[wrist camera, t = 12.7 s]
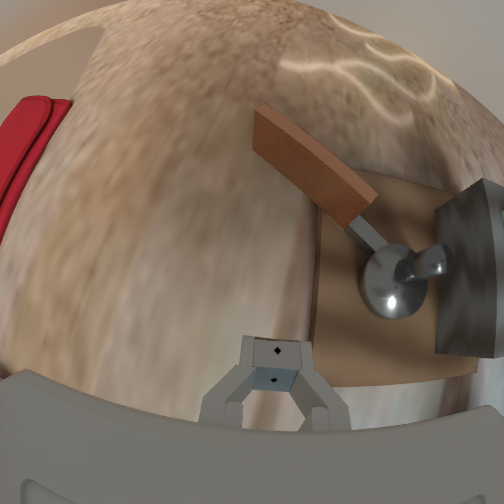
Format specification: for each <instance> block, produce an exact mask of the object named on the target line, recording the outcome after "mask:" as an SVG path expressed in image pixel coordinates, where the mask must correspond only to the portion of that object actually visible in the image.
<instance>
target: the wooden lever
mask: <svg viewBox="0 0 504 504" xmlns="http://www.w3.org/2000/svg"><path fill="white" fill-rule="evenodd" d="M252 150H253V151H254V152H256V153H257V154H258V155H259V156H261V157H262V158H263V159H264V160H266V161H267V162H268V163H269V164H271V165H272V166H273V167H274V168H275V169H277V170H278V171H279V172H280V173H281V174H283V175H284V176H285V177H286V178H287V179H289V180H290V181H291V182H292V183H293V184H294V185H296V186H297V187H298V188H299V189H300V190H301V191H303V192H304V193H305V194H306V195H307V196H308V197H309V198H311V199H312V200H313V201H314V202H315V203H316V204H317V205H318V206H319V207H321V208H322V209H323V210H324V211H325V212H326V213H327V214H328V215H329V216H330V217H332V218H333V219H334V220H335V221H336V222H337V223H338V224H339V225H340V226H341V227H342V228H343V229H344V230H343V231H344V232H345V233H346V234H347V235H348V236H349V237H350V238H351V239H352V240H353V241H354V242H355V243H356V244H357V245H358V246H360V247H361V248H362V249H363V250H364V251H365V252H366V253H367V254H368V255H369V256H368V257H367V258H366V260H365V261H364V263H363V265H362V267H361V270H360V274H359V291H360V295H361V298H362V300H363V302H364V304H365V306H366V307H367V308H368V310H369V311H370V312H371V313H373V314H374V315H376V316H377V317H379V318H382V319H388V320H391V319H404V318H407V317H410V316H412V315H413V314H415V313H416V312H417V311H418V310H419V309H420V307H421V306H422V304H423V302H424V300H425V298H426V295H427V290H428V278H432V277H435V276H439V275H442V274H446V273H448V272H449V271H450V270H451V269H452V266H453V255H452V252H451V250H450V248H449V247H448V246H447V245H446V244H444V243H437V244H435V245H433V246H430V247H428V248H426V249H424V250H422V251H419V252H417V253H416V252H415V251H414V250H412V249H411V248H409V247H408V246H405V245H402V244H396V243H395V244H389V243H388V242H387V241H386V240H385V239H384V238H383V237H382V236H381V235H380V234H379V233H378V232H377V231H376V230H375V229H374V228H373V227H372V226H371V225H370V224H369V223H367V222H366V221H365V220H364V219H363V218H362V217H361V216H360V215H359V214H361V213H362V212H363V211H364V210H365V209H366V208H367V207H368V206H369V205H370V204H371V203H372V202H373V200H374V199H375V198H376V197H377V195H378V194H377V193H376V192H375V191H374V190H373V189H372V188H371V187H370V186H369V185H368V184H367V183H366V182H365V181H363V180H362V179H361V178H360V177H359V176H358V175H357V174H356V173H354V172H353V171H352V170H351V169H350V168H349V167H348V166H346V165H345V164H344V163H343V162H342V161H341V160H339V159H338V158H337V157H336V156H335V155H333V154H332V153H331V152H330V151H329V150H327V149H326V148H325V147H324V146H322V145H321V144H320V143H319V142H317V141H316V140H315V139H313V138H312V137H311V136H310V135H308V134H307V133H306V132H304V131H303V130H302V129H300V128H299V127H298V126H296V125H295V124H294V123H292V122H291V121H290V120H288V119H287V118H285V117H284V116H283V115H281V114H280V113H278V112H277V111H276V110H274V109H273V108H271V107H270V106H268V105H267V104H265V103H264V104H263V105H261V106H260V107H258V108H257V109H255V117H254V132H253V148H252Z"/></svg>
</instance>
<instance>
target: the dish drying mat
mask: <svg viewBox="0 0 504 504" xmlns="http://www.w3.org/2000/svg"><path fill="white" fill-rule="evenodd" d="M71 106H72V102H71V101H69V100H64V99H50V98H49V97H46V96H28V97H25V98H22V99H21V101H20V102H19V103H18V104H17V105H16V107H15V108H14V109H13V110H12V111H11V113H10V114H9V115H8V116H7V118H6V119H5V121H4V122H3V123H2V125H1V127H0V244H1V241H2V238H3V236H4V233H5V231H6V228H7V225H8V223H9V221H10V218H11V216H12V213H13V211H14V209H15V207H16V204H17V202H18V200H19V198H20V196H21V193H22V191H23V189H24V187H25V185H26V183H27V181H28V179H29V177H30V175H31V173H32V171H33V169H34V167H35V165H36V163H37V162H38V160H39V158H40V156H41V155H42V153H43V151H44V150H45V148H46V146H47V144H48V143H49V141H50V139H51V137H52V136H53V134H54V133H55V131H56V129H57V128H58V126H59V125H60V123H61V122H62V120H63V118H64V117H65V115H66V114H67V112H68V111H69V109H70V108H71Z"/></svg>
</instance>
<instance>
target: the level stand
mask: <svg viewBox="0 0 504 504" xmlns="http://www.w3.org/2000/svg"><path fill="white" fill-rule="evenodd" d="M350 169H351V168H350ZM351 170H352V171H353V172H354V173H356V174H357V175H358V176H359V177H360V178H361V179H362V180H363V181H365V182H366V183H367V184H368V185H369V186H370V187H371V188H372V189H373V190H374V191H375V192H376V193H377V194H378V195H377V197H376V198H375V199H374V200H373V202H372V203H371V204H370V205H369V206H368V207H367V208H366V209H365V210H364V211H363V212H362V213H361V214H359V215H360V216H361V217H362V218H363V219H364V220H365V221H366V222H367V223H369V224H370V225H371V226H372V227H373V228H374V229H375V230H376V231H377V232H378V233H379V234H380V235H381V236H382V237H383V238H384V239H385V240H386V241H387V242H388V243H389V244H395V243H396V244H402V245H405V246H408V247H409V248H411V249H412V250H414V251H415V252H416V253H417V252H419V251H422V250H424V249H426V248H428V247H430V246H433V245H435V244H437V243H444V244H446V245H447V246H448V247H449V248H450V250H451V252H452V255H453V266H452V269H451V270H450V271H449V272H448V273H446V274H442V275H439V276H435V277H432V278H428V290H427V295H426V298H425V300H424V302H423V304H422V306H421V307H420V309H419V310H418V311H417V312H416V313H415V314H413V315H412V316H410V317H407V318H404V319H391V320H388V319H382V318H379V317H377V316H376V315H374V314H373V313H371V312H370V311H369V310H368V308H367V307H366V306H365V304H364V302H363V300H362V298H361V295H360V291H359V274H360V270H361V267H362V265H363V263H364V261H365V260H366V258H367V257H368V256H369V255H368V254H367V253H366V252H365V251H364V250H363V249H362V248H361V247H360V246H358V245H357V244H356V243H355V242H354V241H353V240H352V239H351V238H350V237H349V236H348V235H347V234H346V233H345V232H344V231H343V230H344V229H343V228H342V227H341V226H340V225H339V224H338V223H337V222H336V221H335V220H334V219H333V218H332V217H330V216H329V215H328V214H327V213H326V212H325V211H324V210H323V209H322V208H321V207H319V206H318V205H317V234H316V255H315V271H314V286H313V299H312V311H311V322H310V332H309V341H310V342H311V344H312V352H313V361H314V370H315V371H318V372H319V373H320V374H321V376H322V377H323V378H324V379H325V380H326V381H327V382H328V384H329V385H330V386H331V387H360V386H380V385H394V384H405V383H415V382H423V381H431V380H438V379H445V378H451V377H457V376H463V375H468V374H473V373H477V368H478V360H479V358H493V359H494V358H499V357H504V187H503V186H501V185H498V184H496V183H494V182H492V181H489V180H487V179H485V178H481V179H480V180H478V181H477V182H476V183H474V184H473V185H471V186H470V187H468V188H467V189H465V190H464V191H462V192H461V193H459V194H458V195H456V194H453V193H449V192H446V191H443V190H439V189H436V188H432V187H428V186H425V185H421V184H417V183H413V182H410V181H406V180H402V179H397V178H393V177H389V176H385V175H380V174H376V173H371V172H366V171H361V170H356V169H351Z"/></svg>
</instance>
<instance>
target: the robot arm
mask: <svg viewBox="0 0 504 504" xmlns="http://www.w3.org/2000/svg"><path fill="white" fill-rule="evenodd" d="M252 390H269V391H280V392H289V393H290V395H291V397H292V398H293V400H294V401H295V403H296V404H297V406H298V408H299V409H300V411H301V412H302V414H303V415H304V417H305V418H306V419H305V421H304V422H303V424H302V425H301V427H300V428H299V430H298V432H294V431H269V430H254V429H243V428H242V418H243V405H242V404H241V403H242V402H243V401H244V399H245V398H246V397H247V396H248V394H249V393H250V392H251V391H252ZM0 504H504V417H503V416H502V415H501V414H500V413H499V412H498V411H497V410H496V409H495V408H493V407H492V406H491V405H484V406H481V407H477V408H474V409H471V410H467V411H463V412H460V413H456V414H452V415H448V416H444V417H439V418H435V419H430V420H425V421H420V422H414V423H409V424H402V425H396V426H388V427H380V428H371V429H360V430H351V423H350V416H349V409H348V405H347V404H346V403H345V402H344V401H343V400H342V399H341V397H340V396H339V395H338V394H337V393H336V392H335V391H334V389H333V388H332V387H331V386H330V385H329V384H328V382H327V381H326V380H325V379H324V378H323V377H322V376H321V374H320V373H319V372H318V371H315V370H314V361H313V352H312V344H311V342H310V341H299V340H284V339H270V338H262V337H253V336H245V335H243V338H242V345H241V354H240V362H239V365H235V366H234V367H233V368H232V369H231V370H230V371H229V372H228V373H227V374H226V375H225V376H224V377H223V378H222V379H221V380H220V381H219V382H218V383H217V384H216V385H215V386H214V387H213V388H212V389H211V390H210V391H209V392H208V393H207V394H206V395H205V396H204V397H203V400H202V406H201V411H200V416H199V421H198V422H192V421H187V420H181V419H176V418H171V417H167V416H162V415H158V414H153V413H149V412H145V411H141V410H138V409H134V408H130V407H127V406H123V405H120V404H117V403H113V402H110V401H107V400H104V399H101V398H98V397H95V396H92V395H89V394H86V393H84V392H81V391H78V390H76V389H73V388H71V387H68V386H66V385H63V384H61V383H58V382H56V381H54V380H51V379H49V378H47V377H45V376H42V375H40V374H38V373H36V372H34V371H32V370H29V369H24V370H22V371H19V372H17V373H15V374H13V375H11V376H9V377H7V378H5V379H3V380H2V381H1V382H0Z"/></svg>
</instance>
